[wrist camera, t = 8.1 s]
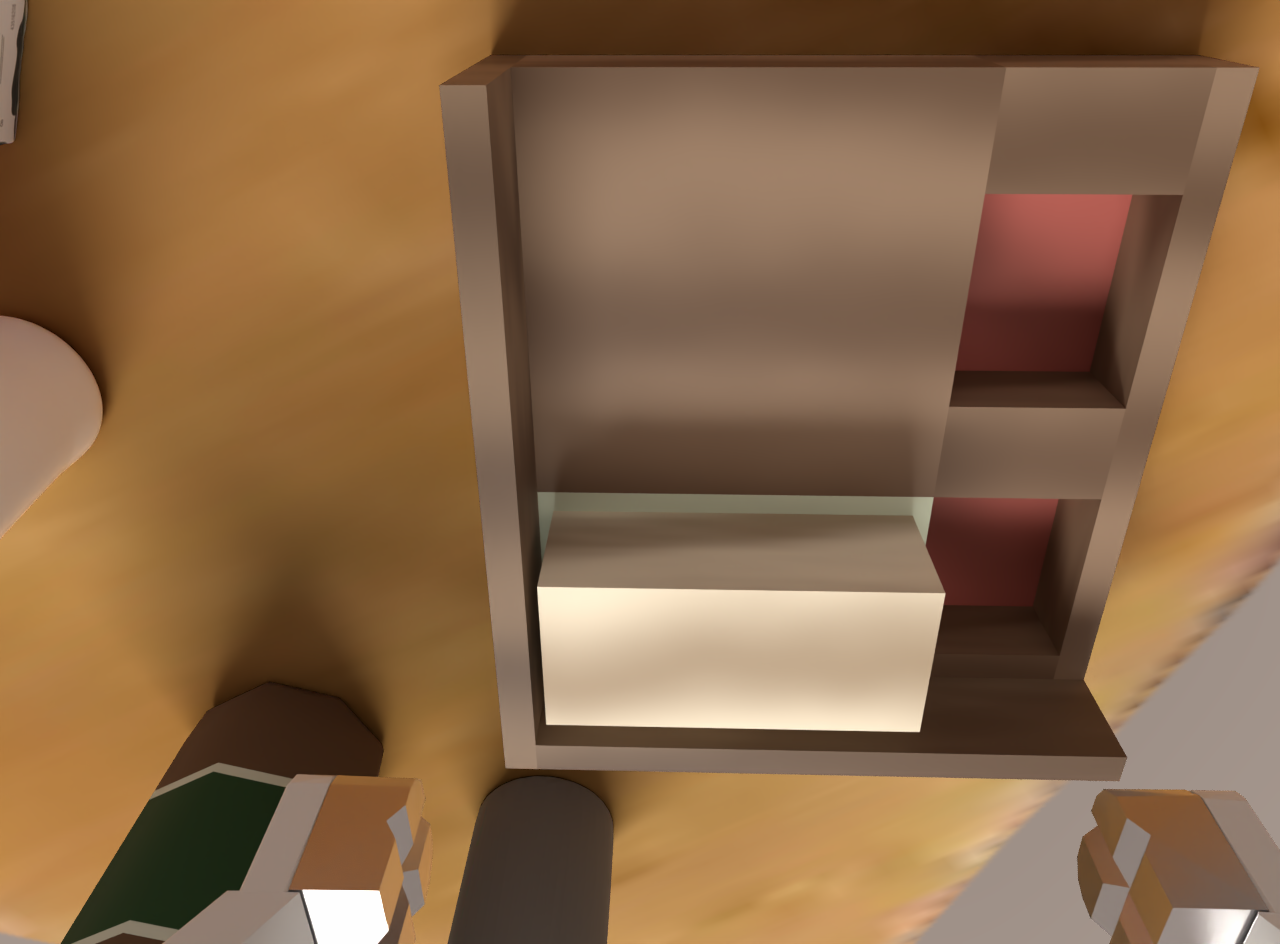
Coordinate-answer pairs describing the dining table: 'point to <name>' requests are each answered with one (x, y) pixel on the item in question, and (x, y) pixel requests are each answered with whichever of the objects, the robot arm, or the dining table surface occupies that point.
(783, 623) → the cream rectangular block
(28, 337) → the drinking glass
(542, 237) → the brown compartment tray
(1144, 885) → the robot arm
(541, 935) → the bottle
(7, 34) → the candy bar box
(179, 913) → the beer bottle
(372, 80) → the dining table surface
